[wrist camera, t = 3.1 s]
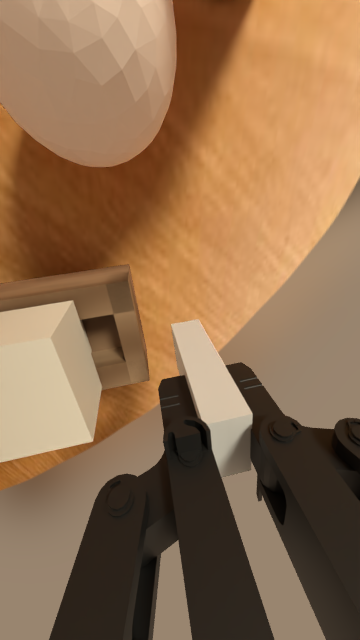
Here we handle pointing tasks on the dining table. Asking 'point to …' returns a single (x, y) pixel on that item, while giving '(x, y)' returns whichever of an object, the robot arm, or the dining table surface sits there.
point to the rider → (45, 381)
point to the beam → (94, 317)
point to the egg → (88, 74)
